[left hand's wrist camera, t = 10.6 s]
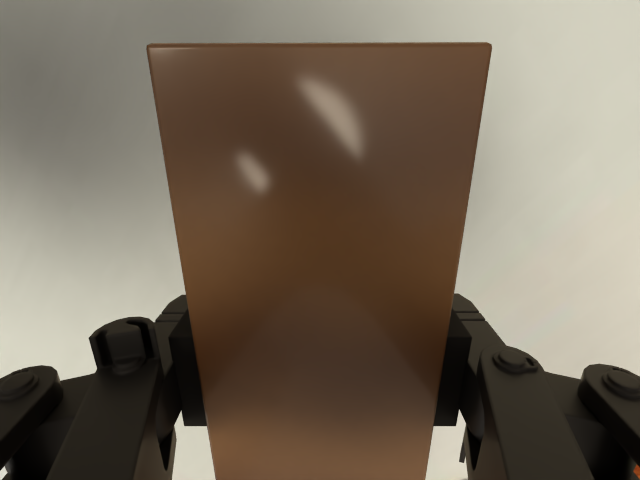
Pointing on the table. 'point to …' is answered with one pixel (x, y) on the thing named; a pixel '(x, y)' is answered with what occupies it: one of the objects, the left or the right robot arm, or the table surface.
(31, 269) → the table surface
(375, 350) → the post
